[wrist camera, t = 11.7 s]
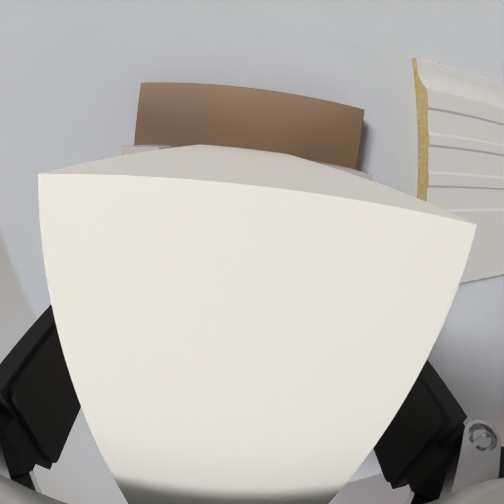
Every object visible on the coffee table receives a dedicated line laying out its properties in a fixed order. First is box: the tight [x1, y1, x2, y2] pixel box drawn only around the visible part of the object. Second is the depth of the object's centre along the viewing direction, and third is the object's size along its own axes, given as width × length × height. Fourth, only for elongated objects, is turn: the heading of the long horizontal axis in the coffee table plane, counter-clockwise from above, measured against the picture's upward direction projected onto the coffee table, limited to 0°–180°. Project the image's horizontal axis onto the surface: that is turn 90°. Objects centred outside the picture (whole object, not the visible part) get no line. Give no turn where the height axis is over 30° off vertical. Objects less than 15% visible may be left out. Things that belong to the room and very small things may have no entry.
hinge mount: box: [122, 83, 373, 181], centre depth 11 cm, size 16×8×4 cm, turn 173°
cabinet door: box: [38, 144, 477, 504], centre depth 8 cm, size 12×4×9 cm, turn 173°
